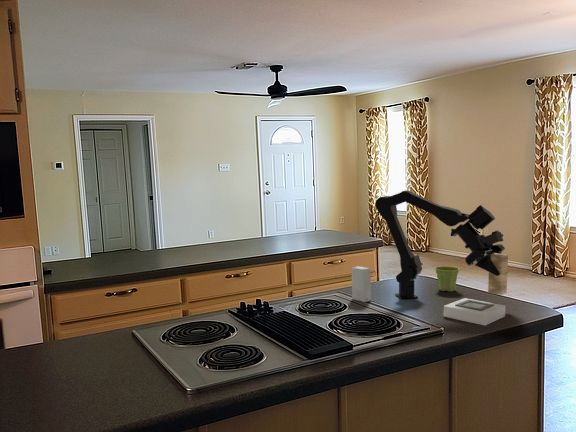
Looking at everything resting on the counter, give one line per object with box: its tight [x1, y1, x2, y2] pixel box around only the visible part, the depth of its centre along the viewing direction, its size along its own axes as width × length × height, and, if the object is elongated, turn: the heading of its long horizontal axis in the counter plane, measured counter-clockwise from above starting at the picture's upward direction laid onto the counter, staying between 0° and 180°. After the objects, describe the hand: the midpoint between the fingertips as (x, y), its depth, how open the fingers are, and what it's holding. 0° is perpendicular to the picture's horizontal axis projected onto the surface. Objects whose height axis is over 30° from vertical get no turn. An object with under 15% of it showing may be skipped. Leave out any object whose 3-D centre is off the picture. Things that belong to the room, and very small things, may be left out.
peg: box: [487, 253, 509, 296], centre depth 173 cm, size 4×4×13 cm
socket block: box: [443, 297, 506, 326], centre depth 166 cm, size 14×14×4 cm
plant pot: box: [434, 265, 461, 292], centre depth 202 cm, size 9×9×9 cm
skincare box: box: [350, 265, 372, 303], centre depth 188 cm, size 6×4×12 cm
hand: (502, 274), depth 172 cm, fingers closed on peg, 4 cm apart
